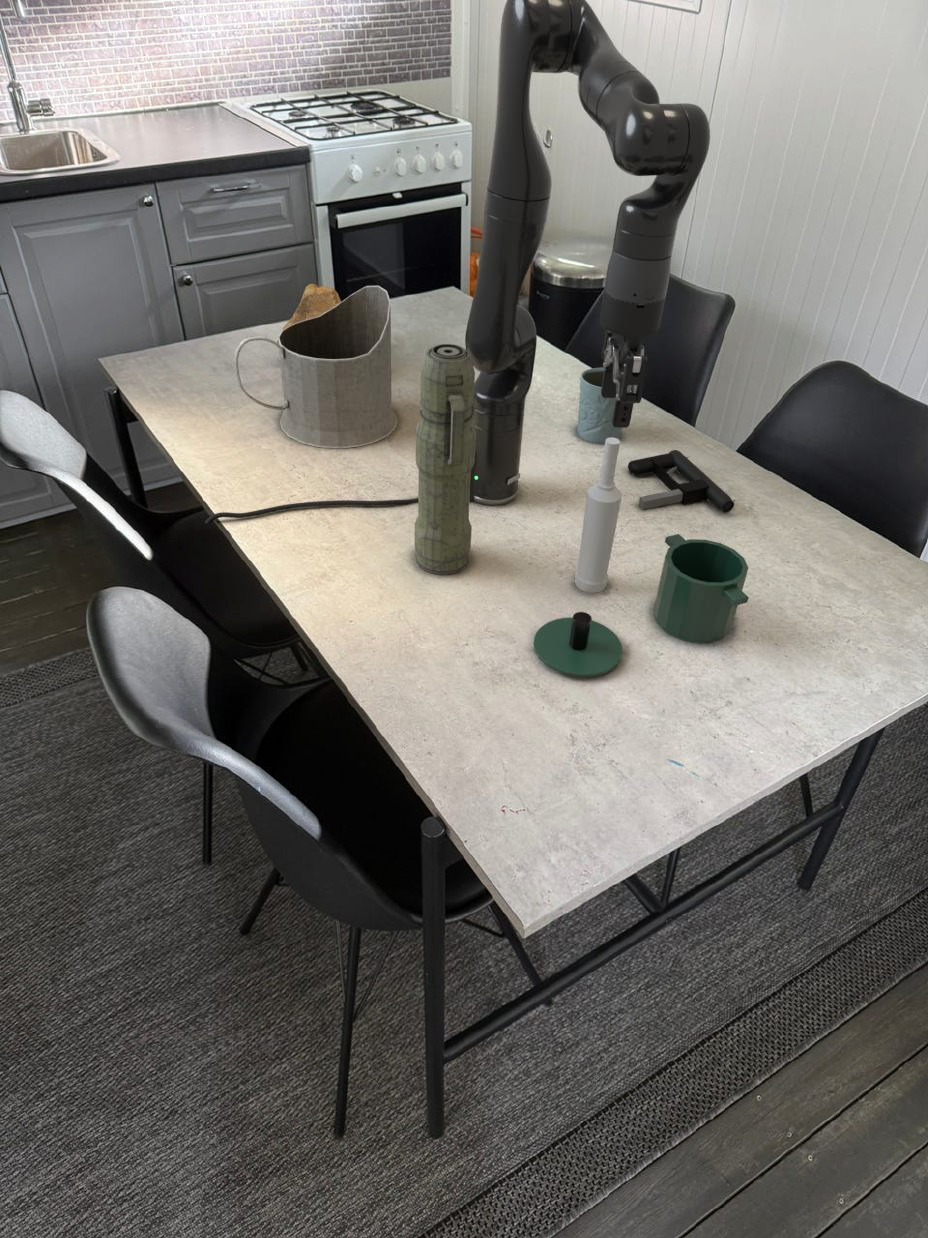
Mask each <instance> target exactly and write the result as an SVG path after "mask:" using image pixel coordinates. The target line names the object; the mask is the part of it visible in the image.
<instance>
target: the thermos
mask: <svg viewBox="0 0 928 1238" xmlns="http://www.w3.org/2000/svg"><path fill="white" fill-rule="evenodd" d="M424 355H425V356H424V358H423V361H422V364H421V367H420V384H419V385H420V390H419V391H420V397H419V398H420V399H419V401H420V402H419V403H420V406H421V409H420V411H419V419H418V422H417V424H416V428H415V465H416V467H417V469H418V492H417V493H418V495H417V498H418V502H417V512H418V514H417V517H416V519H415V522H414V550H415V563H416V565H417V566H418V568H419V569H421V570H422V571H424V572H426V573H429V574H431V575H437V576H450V575H454V574H457V573H461V572H462V571H464V569H465V568H466V567H468V565H469V562H470V551H471V546H472V530H473V529H472V524H471V521H470V519H469V517H470V501H469V500H470V480H471V470H472V468H473V466H474V463H475V445H476V430H475V427H474V423H473V413H472V406H473V401H474V382H475V381H476V379H475V378H476V377H475V376H476V372H475V371H476V370H475V367H474V366H473V363H472V360H471V356H470V353H469V351H468V350H466V348H465V347H462V346H460V345H458V344H454V343H442V344H437V345H435V346H431V347H430V348H428V349H427V351H426V353H425V354H424Z"/></svg>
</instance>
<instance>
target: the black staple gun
mask: <svg viewBox="0 0 928 1238" xmlns="http://www.w3.org/2000/svg"><path fill="white" fill-rule="evenodd" d="M689 458H690V456H686V455H684V454H683V452H681V451H680V450H677V449H673V450H670V451H669V452H668V453H663V454H658V455H653V456H648V457H644V458H638V459H634V460H633V459H632V460H630V461H629V462H628V464H627V469H628V471H629V472H630V474H632V475H634V476H641V475H647V474H650V473H652V474H653V475H654V476H655V477H656V478H657V479H659V481H660V482H662V484H663V485H664V486H666V487H667V489H669V490H667V491H666V490H665V491H662V492H658V493H653V494H648V495H644V496H639V500H638V506H639V508H641V509H642V511H644V510H648V509H653V508H658V507H662V506H667V505H672V504H676V503H680V504H681V505H683V506H686V505H690V504H695V503H699V502H705V501H708V502H709V503H710V504H712V506H713V507H714V508H716V510H718V511H720V512H722V513H723V514H727V513H730V512H731V511H732V510H733V509H734V507H735V502H736V500H733V498H732V497H731V496H730V495H729V494H728V493H726V492H725V491H724V490H723V489H722V488H721V487H720V486H719V485H717V484H716V483H715V482H714V481H713V480H712V479H711V478H710V477H709V476H707V475H706V473H705V472H703V471H702V470H701V469H700V468H699V467H698V466H697V465H696V464H694V463H693V462H692V461H691V460H690V459H689ZM667 470H668V471H667ZM675 471H676V472H677V473H678V474H679V475H680V476H681V477H683V478H684V479H685V480H686V482H682V483H678V481H676V480H675V479H674V478H673V477H672V476H671V475H672V474H673V473H674V472H675Z"/></svg>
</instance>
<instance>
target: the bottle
mask: <svg viewBox="0 0 928 1238" xmlns="http://www.w3.org/2000/svg"><path fill="white" fill-rule="evenodd" d="M620 445H621V440H620V439H619V438H618V439H617V438H607V439H606V441H605V444H604V447H603V457H602V465H601V471H600V477H599V480H597V482H596V483H595V484H593V485H591V486H590V487H589V488H587V490H586V497H585V504H584V505H585V506H584V514H583V521H582V529H581V531H582V532H581V539H580V548H579V554H578V555H579V556H578V564H577V569H576V570H575V574H574V583H575V585H576V587H577V588H578V589H579V590H580V591H582V592H584V593H589V594H597V593H601V592H602V591H604V589H606V587H607V584H608V581H609V575H608V569H609V565H610V560H611V556H612V549H613V544H614V539H615V534H616V529H617V524H618V518H619V513H620V507H621V503H622V498H623V493H622V491H621V490H620V489H619V488H618V487H617V486H616V483H615V481H614V480H615V475H616V467H617V461H618V455H619V451H620Z"/></svg>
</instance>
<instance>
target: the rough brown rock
mask: <svg viewBox="0 0 928 1238" xmlns="http://www.w3.org/2000/svg"><path fill="white" fill-rule="evenodd" d="M341 302H342V300H341V298H340V296H339V293H338V292H337V290H336V289H335V288H333V287H331V286H328V285H326V286H325V285H322V286H319V285H318V284H314V283H309V284H308V285H307V286H305V288H304V290H303V294H302V297H301V299H300V302H299V304H298V306H297V308H296V310H295V311H294V313H293V315H292V317H291V318H290V319H289V320H288V321H287V323H286V324H285V325H284V326H283V328H282V331H283V330H284V329H286V328H287V327H289V326H290V325H292V324H295V323H298V322H301V321H304V320H307V319H311V318H314V317H318V316H320V315H322V314H323V313H325V312H327V311H329V310H330V309H332V308H334V307H335V306H337V305H338V304H339V303H341ZM276 343H278V344H279V340H278V339H277V341H276Z"/></svg>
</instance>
